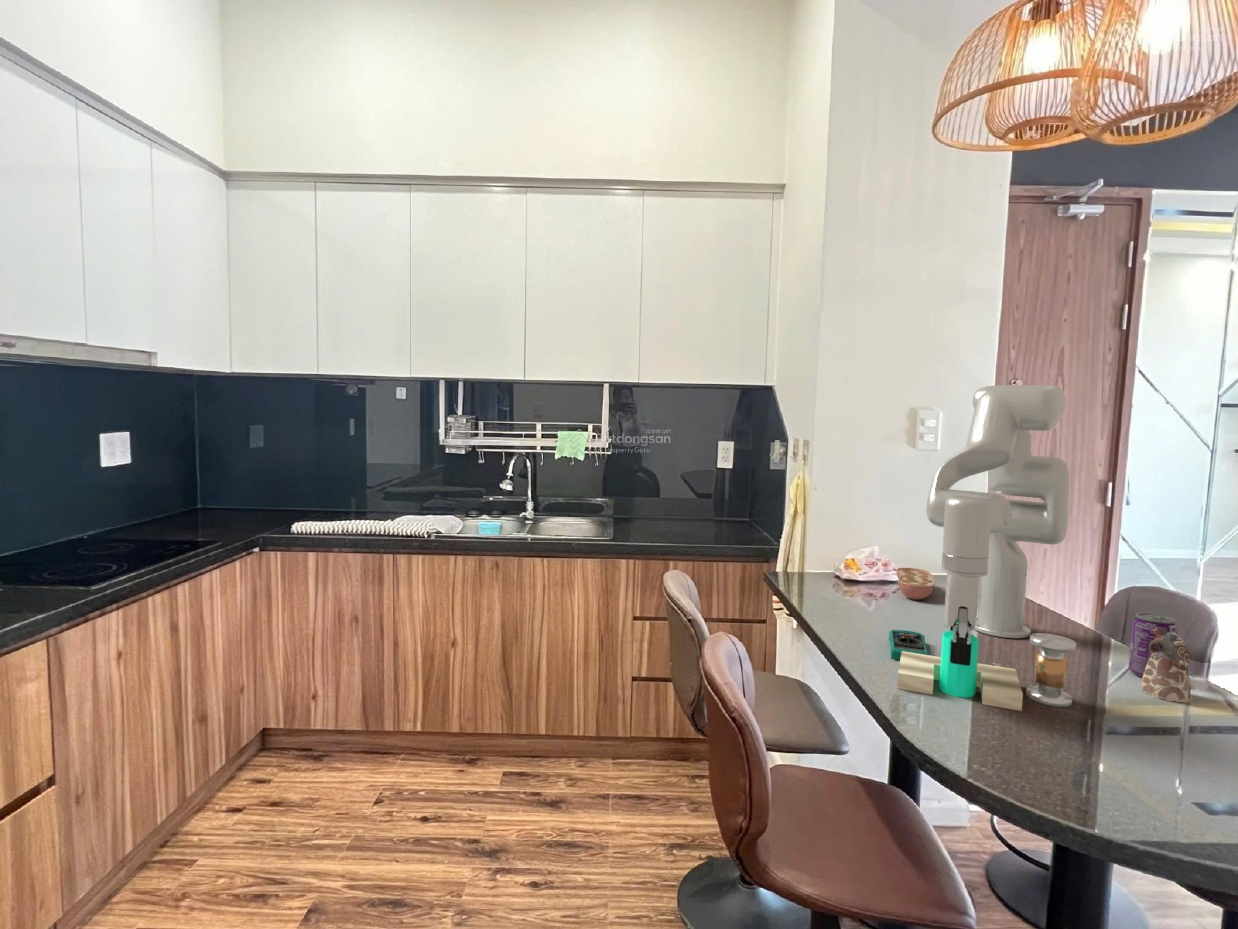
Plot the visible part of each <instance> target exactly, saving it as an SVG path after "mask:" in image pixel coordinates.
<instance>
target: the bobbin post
mask: <svg viewBox="0 0 1238 929" xmlns="http://www.w3.org/2000/svg"><path fill="white" fill-rule="evenodd" d="M1029 643H1030V644H1032V645H1033V646H1035V647H1038V648H1040V650H1038V651H1036V652H1035V661H1034V662H1035V665H1034V666H1035V667H1034V676H1033V677H1034V680H1033V681H1034V682H1035V683H1037V685H1029V686H1027V687H1026V691H1025V695H1026V697H1027V696H1028V697H1027V698H1028V699H1030V700H1032V701H1033V702H1036V703H1039V704H1041V705H1045V706H1048V705H1049V707H1055V708H1068V707H1071V706H1072V705H1073V697H1072V695H1071V694H1070V693H1068V692H1066V691H1064V690H1063V689H1064V688H1066V686H1067V675H1068V674H1067V671H1068V659H1069V658H1068V657H1067V656H1066V655H1065V653H1069V652H1070V653H1071V652H1072V653H1073V652H1075V651H1076V650H1077V641H1075V640H1073V639H1071V638H1068V637H1066V636H1061V635H1058V634H1054V633H1053V634H1052V633H1044V632H1037V633H1031V635H1030V636H1029Z"/></svg>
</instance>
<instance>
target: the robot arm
mask: <svg viewBox="0 0 1238 929" xmlns="http://www.w3.org/2000/svg"><path fill="white" fill-rule="evenodd" d="M972 405H973V414H972V419H971V423H970V428H969V431H968V432H969V433H968V436H967V441H966V444H965V446H964V447H963V448H960V450H958V451H957V452H955V453H953V454H952V455H951V456H950V457H949V458H947V459H946V460H945V461H944V462H943V463H942V464H941V465H940V466H939V468H938V469H937V470H936V471H935V474H934V475H933V478H932V482H931V486H930V489H929V492H928V496H927V500H926V501H927V503H926V510H925V511H926V516H927V518H928V521H929V522H930V523H931V524H932V525H934V526H936V527H939V528H943V537H942V554H941V555H942V556H941V571H943V573H944V572H945V573H947V574H946V582H945V596H944V598H945V599H944V613H943V614H944V620H943V621H944V626H945V628H949V627H950V628H949V631H953V641H952V640H951V653H950V662H951V663H953V664H960V665H966V666H969V665H970V660H971V643H970V634H972V631H978V633H983V634H986V635H990V636H994V637H1000V638H1007V639H1025V638H1028V637H1030V635H1031V634H1032V629H1031V628H1030V627H1028V626H1026V625H1025V623H1024V619H1025V606H1026V605H1025V604H1026V590H1027V579H1028V578H1027V577H1028V576H1027V575H1028V566H1029V565H1028V563H1029V562H1028V557H1027V556H1026V554H1025V552H1024V551H1023V549H1022V548H1021V547H1020V545H1019V544H1018V543H1017V542H1026V543H1032V544H1040V545H1059V544H1061V543H1062V542H1063V541H1065V538H1066V536H1067V532H1068V524H1069V523H1068V522H1069V521H1068V520H1069V496H1070V472H1069V467H1068V463H1066V461H1064V460H1063V459H1061V458H1059V457H1054V456H1040V455H1033V454H1032V433H1031V431H1038V432H1039V431H1042V432H1043V431H1050V430H1052V429H1054V428H1055V427H1056V426H1057V425H1058V423H1059V422H1060V421H1061V420H1062V417H1063V415H1064V412H1065V409H1066V408H1065V407H1066V397H1065V394H1064V391H1063V389H1062V388H1061V387H1059V385H1054V384H1053V385H1052V384H1051V385H1050V384H1047V385H1045V384H1043V385H1042V384H1034V385H1030V384H1026V385H1024V384H1023V385H1020V384H1018V385H1017V384H1008V385H1007V384H1003V385H998V384H997V385H989V386H982V387H980V388H978V389H976V390H975V391H974V394H973V396H972ZM985 472H987V478H988V479H987V480H988V482H987V483H988V487H989V489H990V490H991V491H992V492H980V491H974V490H973V491H971V490H960V489H951V488H952V487H953V486H954V485H955V484H956V483H957V482H959V481H961V480H963V479H966V478H968V477H970V476H971V477H972V476H975V475H977V474H981V473H985ZM1004 496H1010V497H1011V496H1012V497H1021V498H1022V497H1025V498H1034V499H1035V498H1037V499H1040V500H1042V501H1031V500H1030V501H1029V500H1023V499H1022V500H1020V499H1009V498H1006V497H1004ZM956 635H957V637H956Z"/></svg>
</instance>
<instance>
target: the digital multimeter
mask: <svg viewBox="0 0 1238 929" xmlns="http://www.w3.org/2000/svg"><path fill="white" fill-rule="evenodd" d="M888 641H889V644H890V659H892V660H893V659H895V660H894V661H898V660H899V662H900V658H901V653H902V651H905V652H911V653H917V654H924V655H930V653H929V651H928V649H927V648H928V647H927V645H926V640H925V635H923V633H921V632H916V631H910V630H904V629H902V630H901V629H892V630H890V631H889V632H888Z"/></svg>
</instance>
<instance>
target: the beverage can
mask: <svg viewBox="0 0 1238 929" xmlns="http://www.w3.org/2000/svg"><path fill="white" fill-rule="evenodd" d="M1156 628H1158V629H1159V630H1160V631H1161V632H1162V633H1163V634H1164V635H1165V634H1166V633H1168V632H1175V633H1176V634H1177V635H1179V632H1178V627H1177V625H1176V619H1174V618H1172V617H1169V616H1167V615H1163V614H1158V613H1157V614H1156V613H1151V612H1137V613H1135V617H1134V619H1133V620H1132V623H1131V634H1130V642H1129V656H1128V665H1127V666H1128V670H1129V671H1131V672H1132V673H1134V674H1135V675H1136V676H1138V677H1141V679H1142V678H1143V674H1144V671H1145V668H1146V665H1147V663H1148V661H1149V659H1150V657H1151V653H1150V650H1149V645H1150V643H1151V642H1152V641H1153V640H1154V639H1156V636H1155V635H1154V633H1153V630H1154V629H1156ZM1155 649H1156V651H1158V652H1161V651H1162V648H1161V646H1160V645H1156V646H1155Z"/></svg>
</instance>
